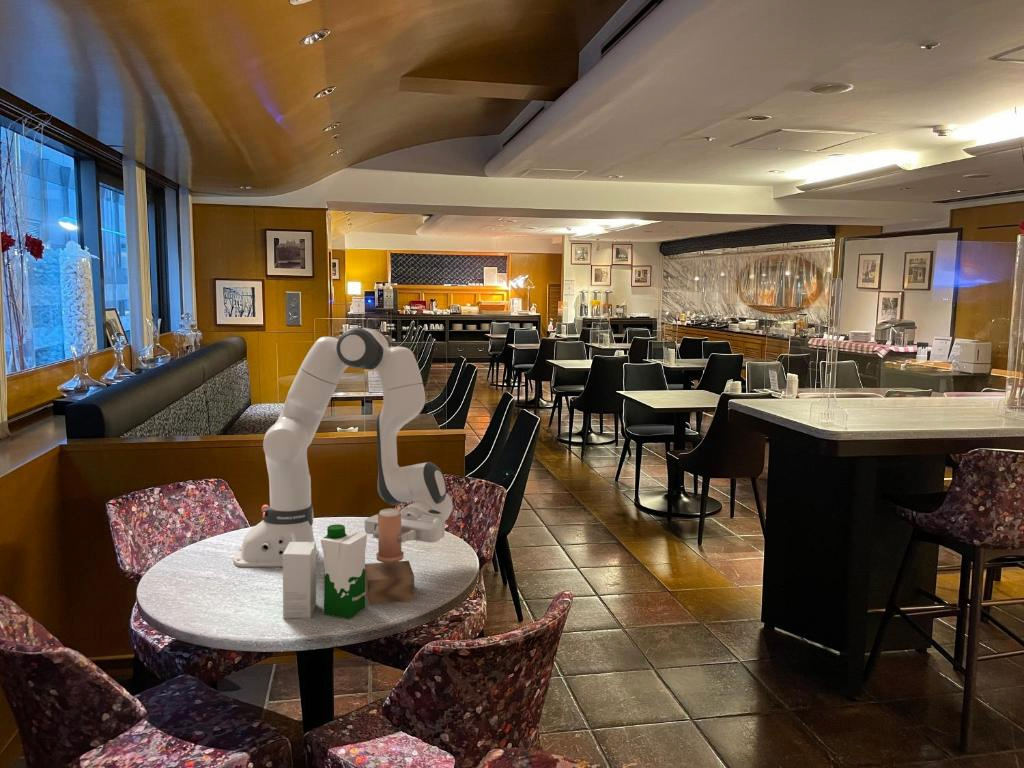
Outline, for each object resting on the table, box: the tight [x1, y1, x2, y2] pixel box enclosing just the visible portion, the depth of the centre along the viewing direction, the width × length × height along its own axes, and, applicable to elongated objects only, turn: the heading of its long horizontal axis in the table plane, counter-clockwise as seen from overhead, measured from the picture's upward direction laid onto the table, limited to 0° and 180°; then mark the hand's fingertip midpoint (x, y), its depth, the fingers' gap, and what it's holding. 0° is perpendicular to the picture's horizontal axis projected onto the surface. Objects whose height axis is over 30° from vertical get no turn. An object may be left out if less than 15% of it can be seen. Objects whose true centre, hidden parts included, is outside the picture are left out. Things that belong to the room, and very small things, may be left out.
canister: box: [376, 508, 405, 563], centre depth 183 cm, size 7×7×12 cm
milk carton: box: [320, 523, 368, 620], centre depth 173 cm, size 9×9×20 cm
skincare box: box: [282, 541, 317, 620], centre depth 173 cm, size 8×7×16 cm
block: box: [365, 560, 415, 605], centre depth 185 cm, size 11×11×6 cm
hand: (387, 537), depth 182 cm, fingers closed on canister, 6 cm apart
